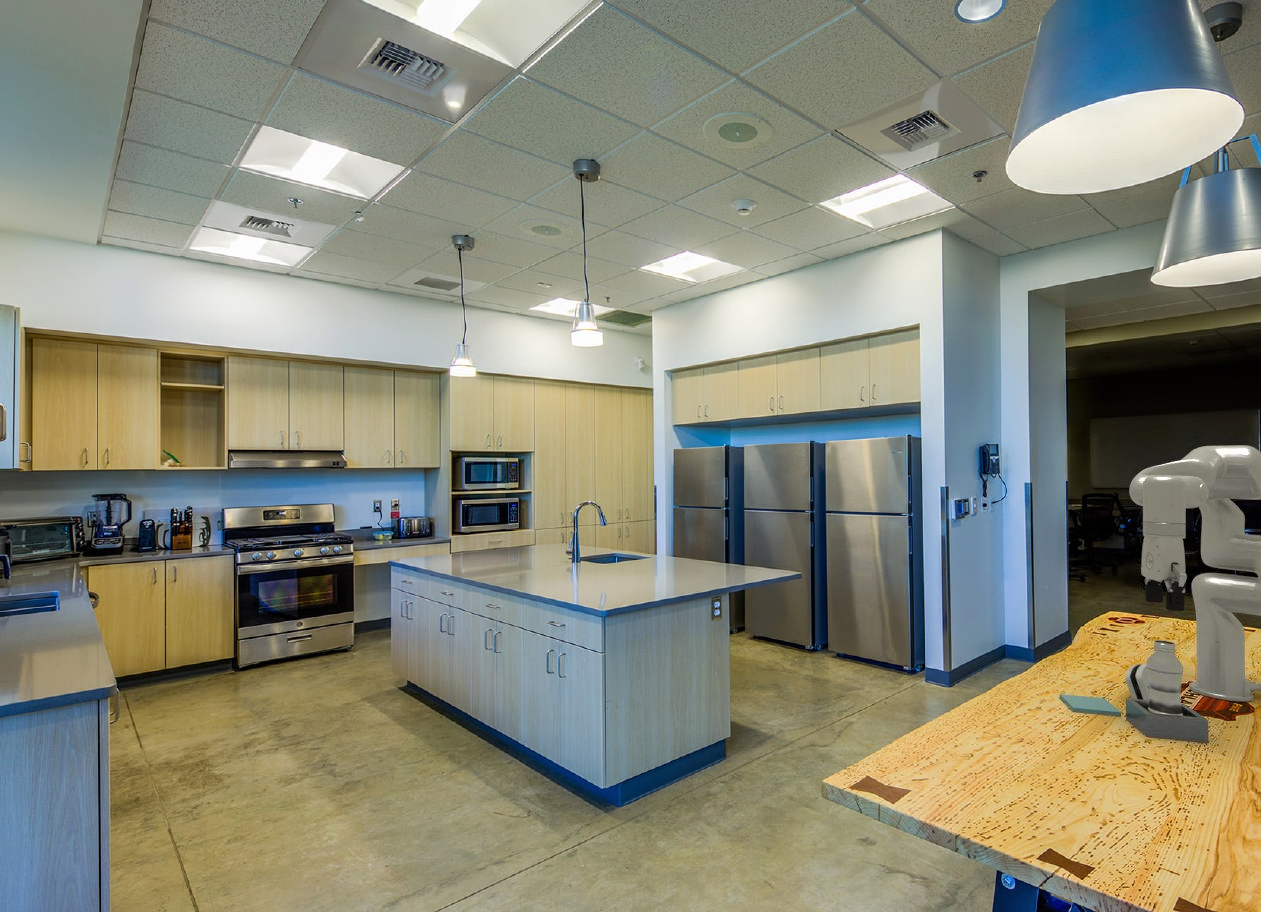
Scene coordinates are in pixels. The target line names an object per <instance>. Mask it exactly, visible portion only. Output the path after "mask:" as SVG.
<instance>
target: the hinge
mask: <svg viewBox="0 0 1261 912" xmlns="http://www.w3.org/2000/svg"><path fill="white" fill-rule="evenodd" d="M1124 679H1125V683H1126V687H1127V688H1128V691H1129V694H1130V696H1131V699H1139V700H1149V698H1150V686H1149V677H1148V672H1147V667H1146V662H1145V663H1137V664H1133V665H1131V666H1130V667H1128V669H1127V671H1126V673H1125V675H1124Z"/></svg>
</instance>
